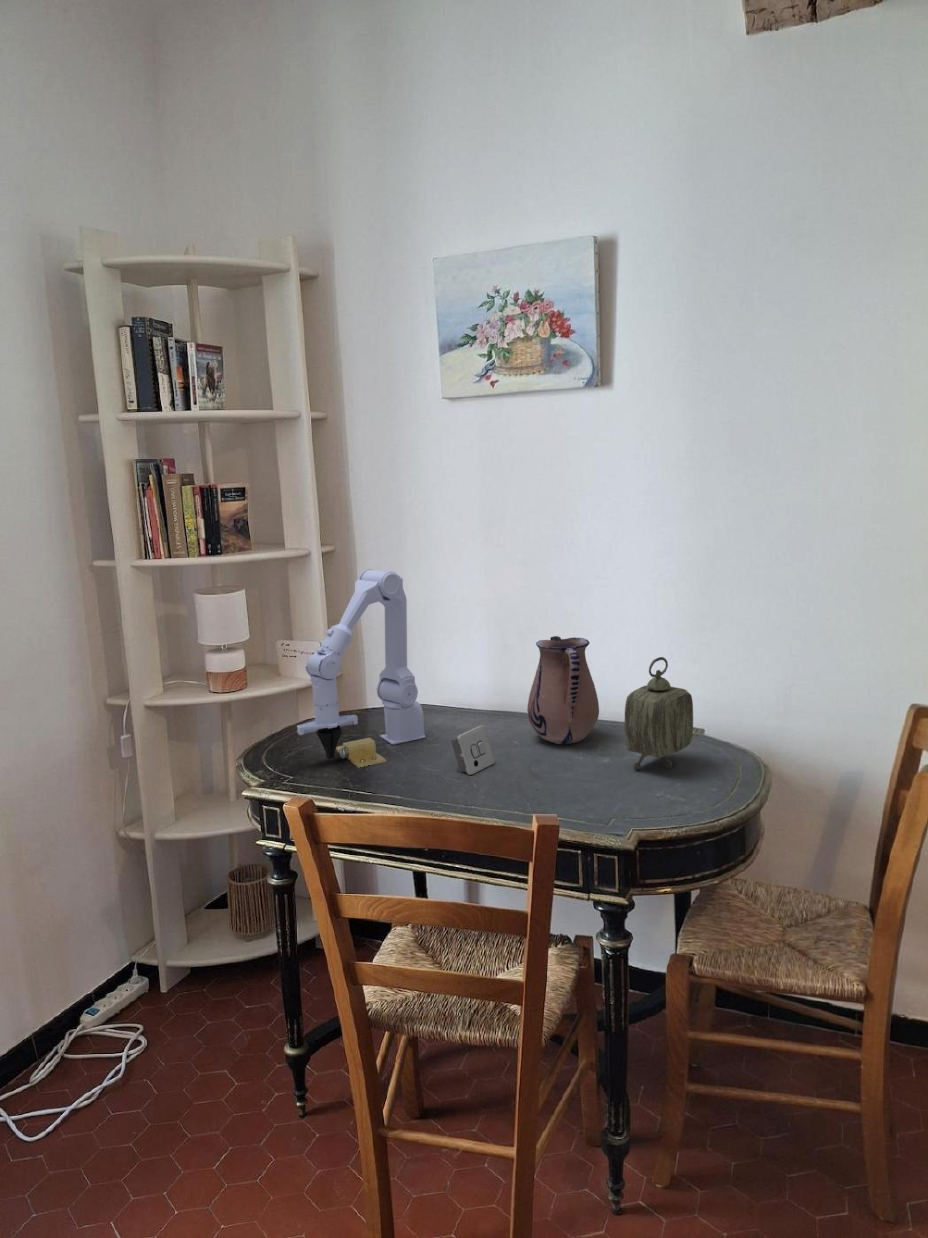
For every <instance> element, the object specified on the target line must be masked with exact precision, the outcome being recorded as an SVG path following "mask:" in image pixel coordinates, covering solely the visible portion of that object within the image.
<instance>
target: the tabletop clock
mask: <svg viewBox="0 0 928 1238" xmlns="http://www.w3.org/2000/svg"><path fill="white" fill-rule="evenodd" d="M659 661H663V662H664V663H665V667H664V669H663V670H660V669H656V670H655V674H653V673H652V668H653V666H654V664H655V663H656V662H659ZM668 666H669V663H668V659H666V658H665V657H663V656H659V657H656V658H654V659H653V660H652V661H651V662H650V664H649V667H648V673H649V675H650V677H652V678H651V679H649V681H648V682H647V684H646V685H643V686H641V687H639V688H637V689H635V690H633V691H631V692H630V693H629V694H628V695H627V697H626V700H625V706H624V722H623V723H624V739H625V745H626V748H627V749H626V750H627V751H628V752H629V751H630V752H633V753H637V754H641V756H640V757H639V760H638V762H635V763H634V764H633V766H632V767H633V769H634V770H635V771H639V770H640V769H641V763H642V762H643V760H644V759H645V758H646V757H648V756H650V757H654V758H657V759H662V758H665V762H664V766H665V768H666V769H671V768H672V767H673V763H672V762H671V760H669V756H671V755H674V754H676V753H679V752H680V751H682V750H684V749H685V748H687V747H688V746H689V745H690V744H691V743H692V741H693V735H694V702H693V696H692V695H691V693H690V692H689V691H688V690H687V689H685V688H680V687H674V686H671V683H670V682H669V681H668V679H666V678H665V677H663V675H664V674H666V672H667V670H668Z"/></svg>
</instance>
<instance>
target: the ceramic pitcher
mask: <svg viewBox="0 0 928 1238" xmlns="http://www.w3.org/2000/svg"><path fill="white" fill-rule="evenodd" d="M535 643H536V647H537V648H538V650H539V660H538V664H537V669H536V672H535V673H534V674H535V676H534V678H533V681H532V685H531V688H530V692H529V694H528V695H529V697H528V701H527V717H528V721H529V723H530V725H531V727H532V729H533V730H534V731H535V733H536V734H537V735H538V736H540V738H541V739H543V740H545V741H547V742H550V743H553V744H556V745H564V744H565V745H566V744H567V745H569V744H570V745H571V744H576V743H579V742H581V741H583V740H584V739H585V738H586V737H587V736H588V735H590V733H591V731H592V729H594V727H595V725H596V723H597V722H598V720H599V716H600V705H599V699H598V694H597V691H596V686H595V683H594V680H593V677H592V675H591V672H590V668H589V665H588V662H587V658H586V649H587V647H588V646H589V645H590V643H591V642H590V641H589V640H588V639H587V638H584V637H569V638H561V637H560V636H559V635H556V636H550V639H540V640H538V641H537V642H535Z"/></svg>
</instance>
